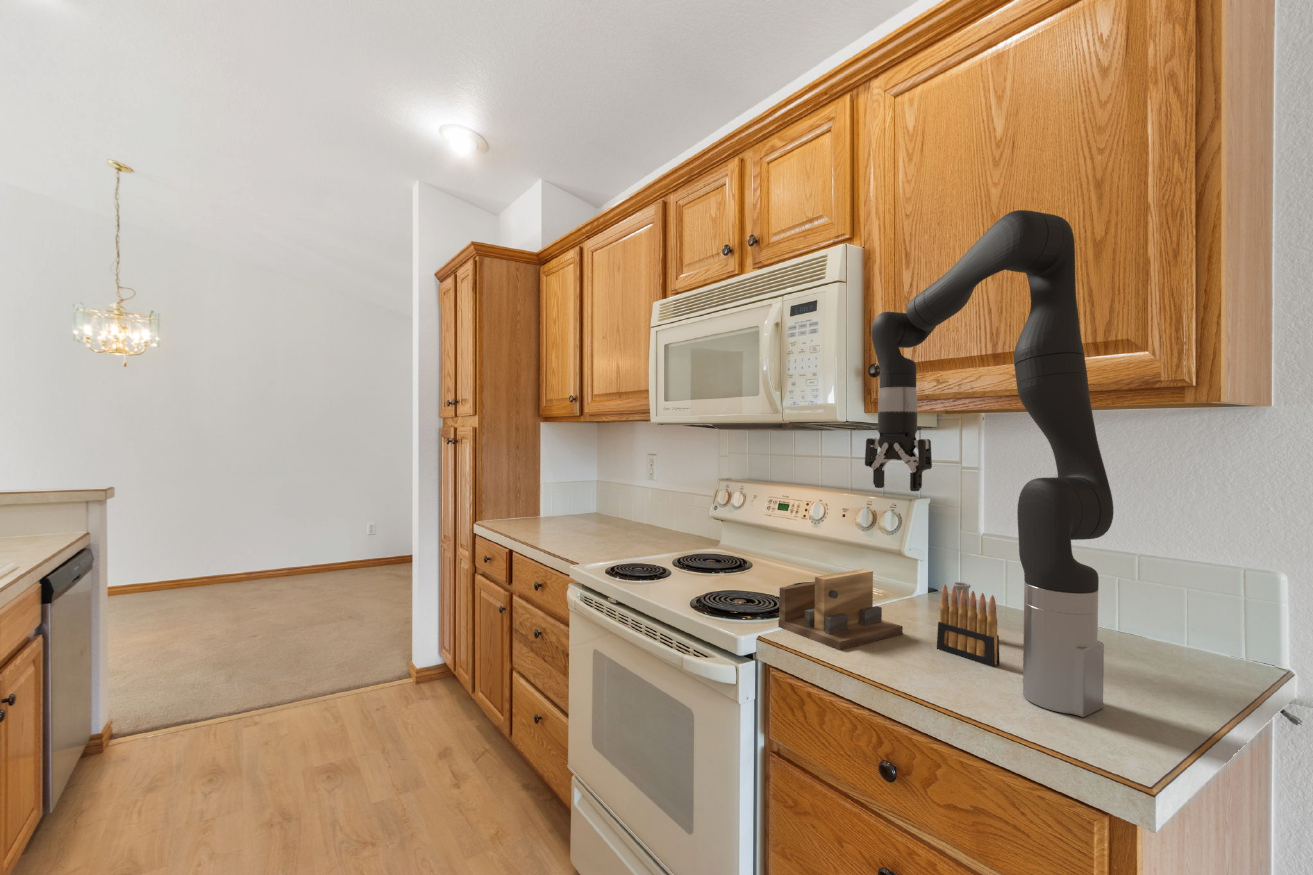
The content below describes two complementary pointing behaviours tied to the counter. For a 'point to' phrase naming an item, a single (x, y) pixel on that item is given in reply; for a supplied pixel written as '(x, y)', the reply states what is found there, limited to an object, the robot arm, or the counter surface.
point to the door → (843, 595)
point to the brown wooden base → (830, 620)
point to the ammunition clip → (968, 628)
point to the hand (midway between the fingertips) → (896, 489)
